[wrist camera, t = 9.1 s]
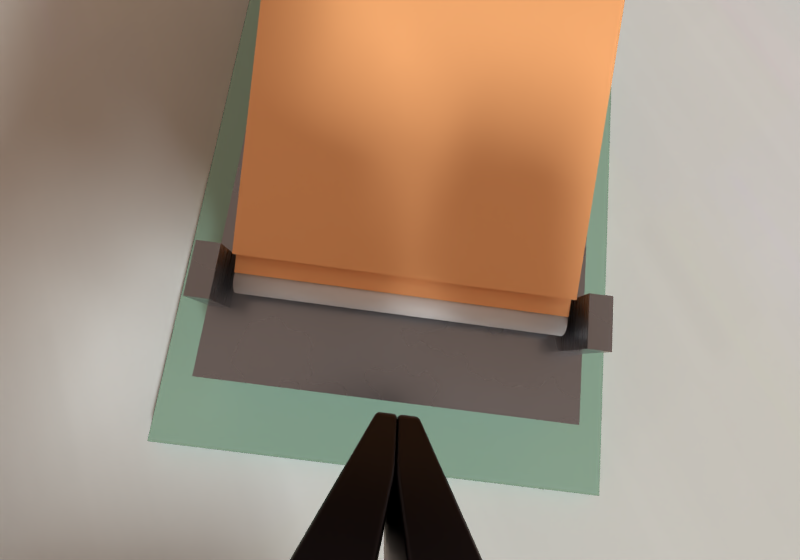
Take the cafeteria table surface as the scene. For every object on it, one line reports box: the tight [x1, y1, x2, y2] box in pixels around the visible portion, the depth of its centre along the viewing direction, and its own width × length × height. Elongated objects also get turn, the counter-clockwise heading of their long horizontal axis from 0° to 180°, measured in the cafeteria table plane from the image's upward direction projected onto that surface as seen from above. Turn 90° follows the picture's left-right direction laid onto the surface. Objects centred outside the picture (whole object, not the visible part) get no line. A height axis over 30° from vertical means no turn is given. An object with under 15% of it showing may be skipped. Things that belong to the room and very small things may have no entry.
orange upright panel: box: [232, 0, 625, 336], centre depth 13 cm, size 2×10×11 cm
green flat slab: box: [148, 0, 611, 496], centre depth 18 cm, size 22×16×1 cm
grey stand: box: [183, 131, 613, 425], centre depth 13 cm, size 17×12×10 cm
